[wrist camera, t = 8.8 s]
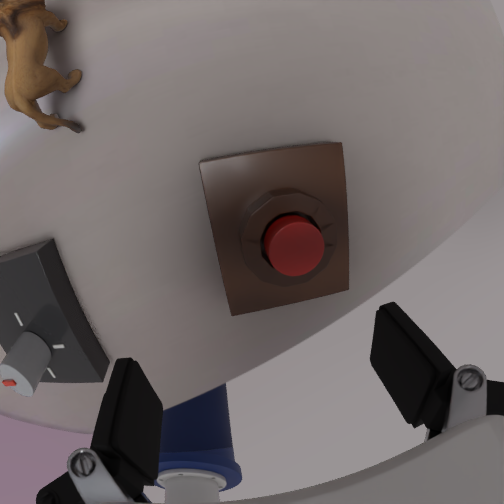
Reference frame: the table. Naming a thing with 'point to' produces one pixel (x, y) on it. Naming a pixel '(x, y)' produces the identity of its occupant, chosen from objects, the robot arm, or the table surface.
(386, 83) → the table surface
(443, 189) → the table surface
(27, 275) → the dark grey dial base
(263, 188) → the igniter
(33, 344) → the knob
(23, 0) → the lion figurine
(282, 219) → the button
